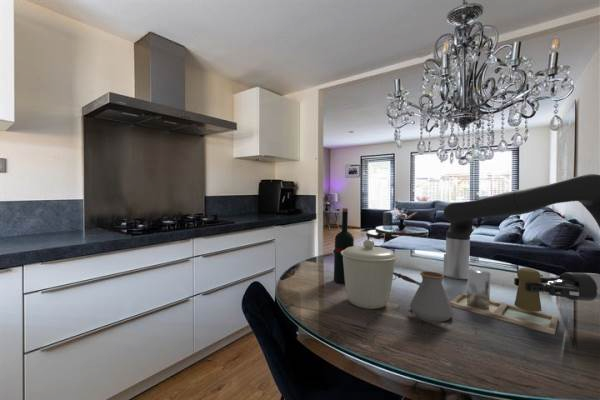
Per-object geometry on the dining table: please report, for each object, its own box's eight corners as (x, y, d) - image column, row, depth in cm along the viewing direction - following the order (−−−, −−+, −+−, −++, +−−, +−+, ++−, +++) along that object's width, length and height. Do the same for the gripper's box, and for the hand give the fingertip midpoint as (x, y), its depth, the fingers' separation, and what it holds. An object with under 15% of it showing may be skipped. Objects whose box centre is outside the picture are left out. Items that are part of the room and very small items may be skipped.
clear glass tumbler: (464, 305, 89) (465, 271, 88) (469, 300, 93) (471, 268, 92) (486, 311, 84) (487, 275, 84) (491, 306, 88) (492, 271, 88)
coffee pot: (427, 307, 90) (429, 261, 89) (462, 322, 79) (463, 270, 79) (375, 318, 81) (377, 267, 80) (406, 337, 70) (408, 278, 70)
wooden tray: (449, 308, 89) (449, 301, 89) (461, 299, 97) (461, 292, 97) (554, 339, 71) (554, 330, 71) (557, 324, 80) (558, 316, 80)
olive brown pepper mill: (547, 312, 76) (548, 272, 76) (521, 310, 77) (522, 271, 77) (533, 304, 82) (534, 266, 82) (510, 302, 83) (510, 265, 83)
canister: (373, 290, 104) (375, 234, 103) (408, 310, 87) (410, 243, 86) (330, 296, 97) (331, 236, 97) (359, 318, 80) (361, 245, 80)
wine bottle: (344, 287, 107) (346, 209, 106) (329, 279, 116) (331, 207, 116) (360, 284, 111) (362, 209, 110) (345, 277, 120) (347, 207, 119)
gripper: (565, 266, 85) (504, 264, 87) (612, 281, 71) (539, 278, 73) (564, 291, 85) (504, 288, 87) (611, 310, 71) (538, 307, 73)
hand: (520, 284), depth 80 cm, fingers closed on olive brown pepper mill, 4 cm apart
